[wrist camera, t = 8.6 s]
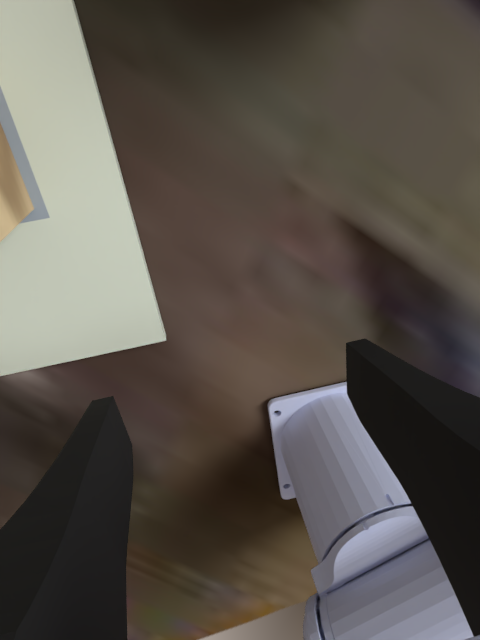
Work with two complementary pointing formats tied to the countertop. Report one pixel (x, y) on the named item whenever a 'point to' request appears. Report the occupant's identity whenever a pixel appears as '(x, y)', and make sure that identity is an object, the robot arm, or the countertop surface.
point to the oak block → (11, 190)
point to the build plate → (65, 203)
